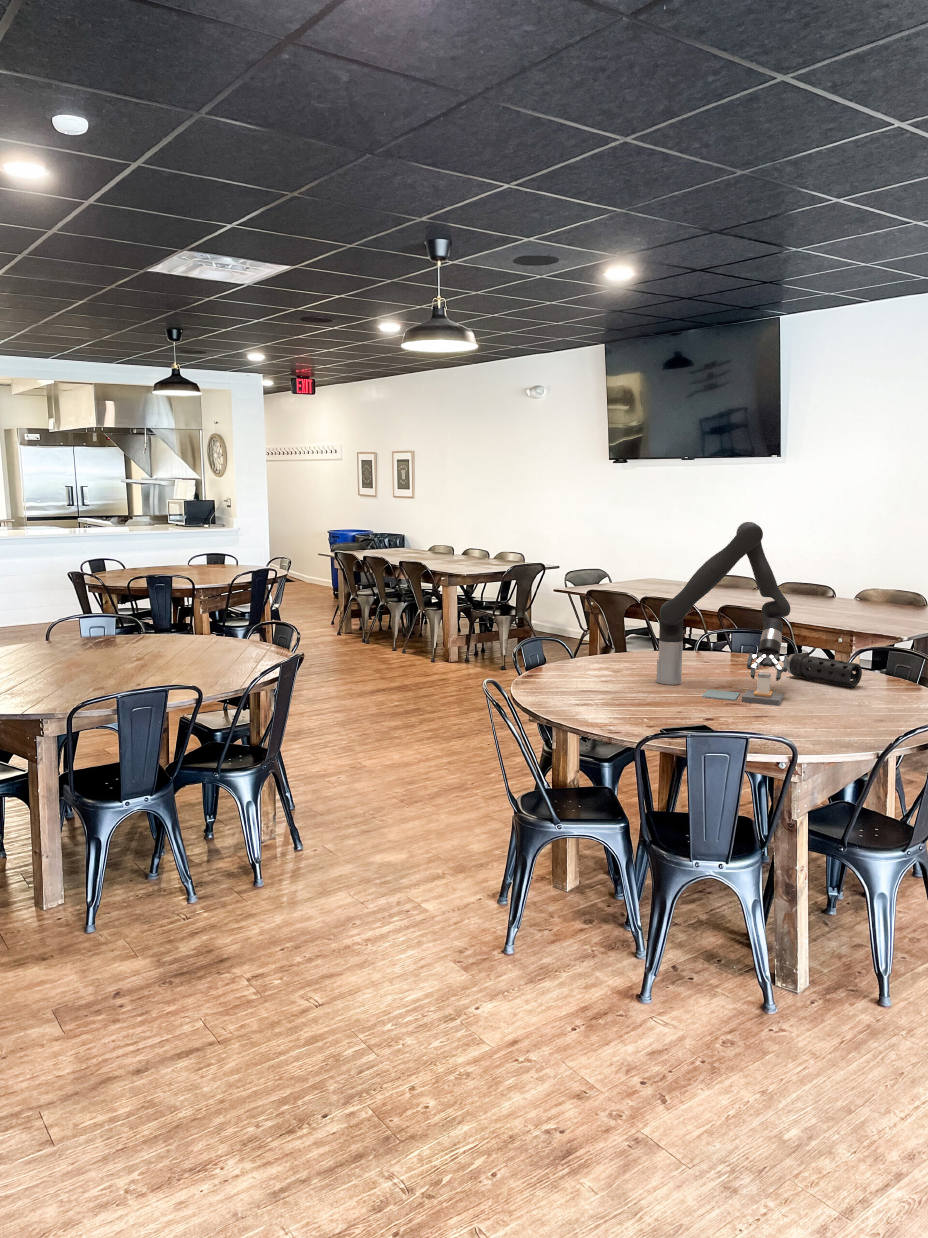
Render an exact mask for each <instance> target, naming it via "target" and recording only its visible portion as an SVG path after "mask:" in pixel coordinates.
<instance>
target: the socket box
mask: <svg viewBox="0 0 928 1238" xmlns="http://www.w3.org/2000/svg"><path fill="white" fill-rule="evenodd" d="M756 690H757V689H747V690H746V691H745V692H744V693H743V695H742V696H741V702H742V703H750V704H757V705H758V704H759V705H768V706H775V707H776V706H778V707H779V706H780V705H781V703H782V702H783V700H784V699H785V698H784V697H785V694H784V692H777V691H773V694H772V696H771V697H764V696H757V695H754V692H755V691H756Z"/></svg>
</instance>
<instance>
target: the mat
mask: <svg viewBox="0 0 928 1238" xmlns="http://www.w3.org/2000/svg"><path fill="white" fill-rule="evenodd" d="M740 695H741V692H737V691H727V690H719V689H718V690H716V689H709V688H708V689H707V690H706V692H704V694H702V695H701V698H702V697H705V698H704V699H711V698H713V699H714V700H722V701H732V702H735V701H737V699H738V698H739V697H740Z"/></svg>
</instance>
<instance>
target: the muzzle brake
mask: <svg viewBox="0 0 928 1238" xmlns="http://www.w3.org/2000/svg"><path fill="white" fill-rule="evenodd" d="M854 672H855V673H854ZM862 672H863V669H862V666H861V665H860V663H857V662H851V661H849V662H848V661H843V660H838V659H830V658H825V657H824V658H823V657H818V656H815V655H814V656H812V655H811V656H810V655H808V654H804V653H800V652H797V653H792V654H790V655H789V656H788V665H787V673H788V674H791V675H793V676H795V677H798V678H799V677H800V678H803V680H805V681H810V680H811V682H812V681H814V680H815V681H821V682H824V683H825V684H831V685H834V686H839V687H840V686H841V687H845V688H850V689H854V688H855V687H856V686H857V685H859V684H860V682H861V679H862V674H863V673H862Z"/></svg>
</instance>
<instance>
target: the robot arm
mask: <svg viewBox="0 0 928 1238" xmlns="http://www.w3.org/2000/svg"><path fill="white" fill-rule="evenodd" d="M763 537H764V532H763V529H762V527H761V526H760V525H759V524H757V523H755V522H753V521H746V522H742V523H741V524H740V525H739V526H738V527H737V529H736V534H735V536H734V537H733V538H732V539H731V540H730V541H729V543H728V544H727V545H726V546H724V548H722V549H720V551H718V552H716V553H715V554H714V555H712V556H711V557H710V558H708V560H706V561H705V562H704V563H703V564H702V565H701V566H700V567H699V568H698V569H697V570H696V571H695V572H694V574H693V575H692V576H691V577H690V578H689V580H688V581H687V582H686V584H685V586H684V587H683V588H682V589H681V591H680V592H678V593H677V594H676V595H675V596H674V597H673V598H672V599H669V600H667V601H665V602H663V603H662V605H661V606H660V609H659V632H658V633H659V634H658V636H659V637H658V658H657V660H656V681H655V682H656V683H657V684H662V685H668V686H669V685H670V686H673V685H681V684H682V672H683V669H682V668H683V645H684V644H683V643H684V642H683V641H684V640H683V639H684V617H685V616H686V615H687V613H689V611H690V610H691V609H692V608H693V607H694V605H695V604H697V602H698V601H700V600H701V599H702V598H704V597H705V596H706V595H707V594H708V593H710V592H711V590H713V589H714V588H715V587H716V586H717V585H718V584H720V583H721V581H722V580H723V579H724V578H725V577H726V576H727V574H728V573H730V571H731V570H732V569H733V568H734V567H735V565H737V563H738V562H739V561H740V560H741V559H742V558H743V557H745V556H747V559H748V561H749V564H750V567H751V569H752V573H753V575H754V580H755V582H756V583H755V584H756V586H757V588H758V591H759V593H760V596H761V597H763V598H770V599H773V600H771V601H767V602H765V603H764V604H763V605H762V606H761V615H762V621H763V626H762V627H763V628H762V633H761V636H760V642H759V647H758V653H757V654H753V653H752V652H749V654H748V658H747V662H746V668H747V670H750V678H752V680H754V679H755V678H756V677H755V676H756V670H757V669H760V668H761V667H762V666H763V667H764V668H765V667H767V668H768V667H769V668H772V667H773V668H774V669H775V670H776V675H775V681H776V682H779V681H780V680H781V678H782V673H788V671H787V665H788V658H789V656H788V655H783V656H780V653H781V646H782V640H783V639H782V638H783V637H782V634H783V629H784V624H783V622H782V620H781V618H786V617H788V616H789V615H790V613H791V605H790V603H789V601H788V600H787V598H786V597H785V596H784V594H783V593H782V591H781V589H780V588H779V585H778V582H777V580H776V577H775V574H774V572H773V570H772V568H771V565H770V564H769V561H768V559H767V557H766V555H765V551H764V549H763V546H762V540H763ZM753 661H755V662H754V663H753ZM780 661H781V663H782V664H783V666H782V667H781V665H780V664H779V662H780Z"/></svg>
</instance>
